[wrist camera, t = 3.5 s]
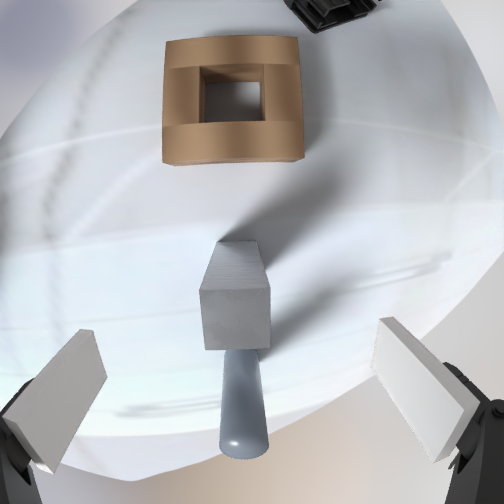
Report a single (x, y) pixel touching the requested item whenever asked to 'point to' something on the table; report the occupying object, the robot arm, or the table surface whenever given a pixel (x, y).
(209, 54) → the socket block
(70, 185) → the table surface
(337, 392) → the table surface
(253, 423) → the round peg
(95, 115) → the table surface
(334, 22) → the end cap
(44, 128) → the table surface
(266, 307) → the square peg
